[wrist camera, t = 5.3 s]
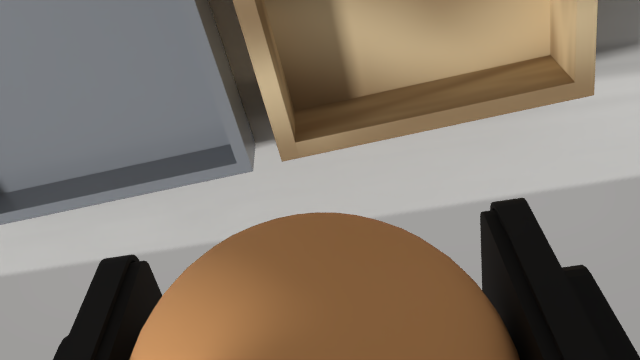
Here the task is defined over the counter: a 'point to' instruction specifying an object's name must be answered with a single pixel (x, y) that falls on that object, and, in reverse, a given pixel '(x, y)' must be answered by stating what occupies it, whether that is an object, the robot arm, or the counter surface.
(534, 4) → the tray
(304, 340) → the ball
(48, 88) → the container
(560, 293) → the robot arm
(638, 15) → the counter surface
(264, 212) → the counter surface
